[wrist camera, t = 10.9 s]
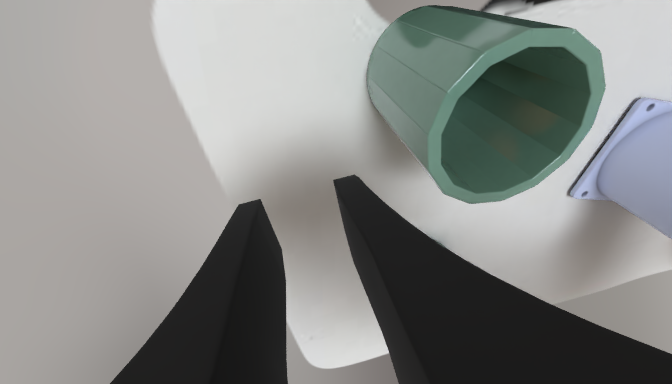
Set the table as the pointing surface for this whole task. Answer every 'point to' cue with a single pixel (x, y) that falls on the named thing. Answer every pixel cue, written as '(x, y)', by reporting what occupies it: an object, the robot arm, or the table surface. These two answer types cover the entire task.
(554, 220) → the table surface
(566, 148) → the tin
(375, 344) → the table surface
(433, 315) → the robot arm
